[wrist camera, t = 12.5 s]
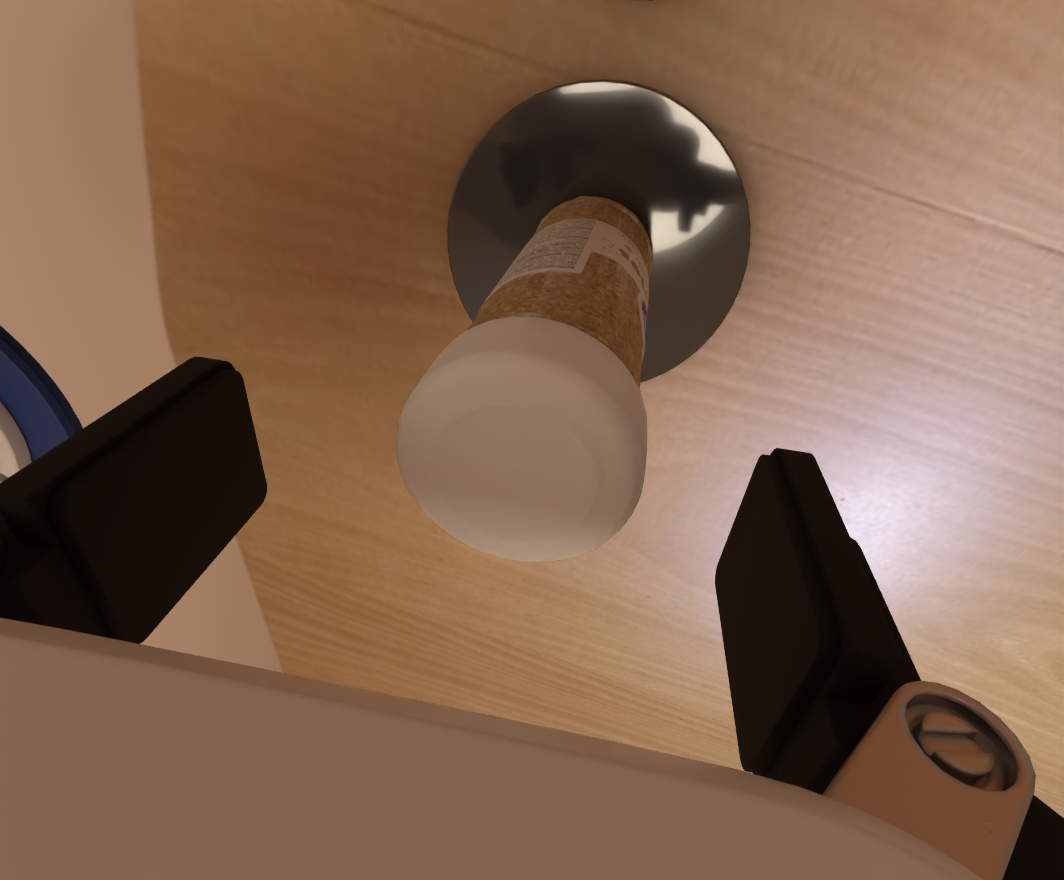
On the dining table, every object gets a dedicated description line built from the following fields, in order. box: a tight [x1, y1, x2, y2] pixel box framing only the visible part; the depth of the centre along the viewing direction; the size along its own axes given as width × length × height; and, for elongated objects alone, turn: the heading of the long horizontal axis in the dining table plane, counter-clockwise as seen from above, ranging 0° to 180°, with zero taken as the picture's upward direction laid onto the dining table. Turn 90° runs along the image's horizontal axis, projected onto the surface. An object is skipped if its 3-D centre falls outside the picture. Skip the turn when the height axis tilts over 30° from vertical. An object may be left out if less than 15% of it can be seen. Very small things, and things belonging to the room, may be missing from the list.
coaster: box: [447, 80, 750, 382], centre depth 21 cm, size 11×11×1 cm
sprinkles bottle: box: [396, 196, 653, 562], centre depth 15 cm, size 5×5×14 cm
